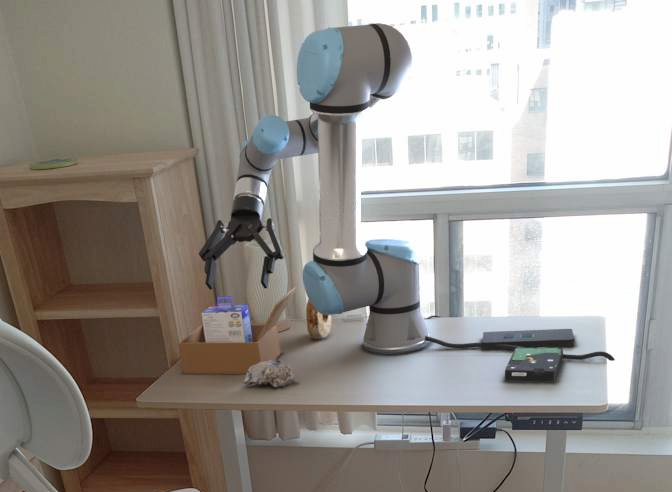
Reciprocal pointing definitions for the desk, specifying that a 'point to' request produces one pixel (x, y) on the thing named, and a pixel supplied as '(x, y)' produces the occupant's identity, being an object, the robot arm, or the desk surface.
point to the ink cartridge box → (226, 322)
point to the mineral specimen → (269, 374)
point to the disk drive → (534, 364)
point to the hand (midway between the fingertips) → (236, 285)
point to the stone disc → (317, 322)
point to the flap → (276, 313)
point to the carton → (227, 352)
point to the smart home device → (529, 338)
